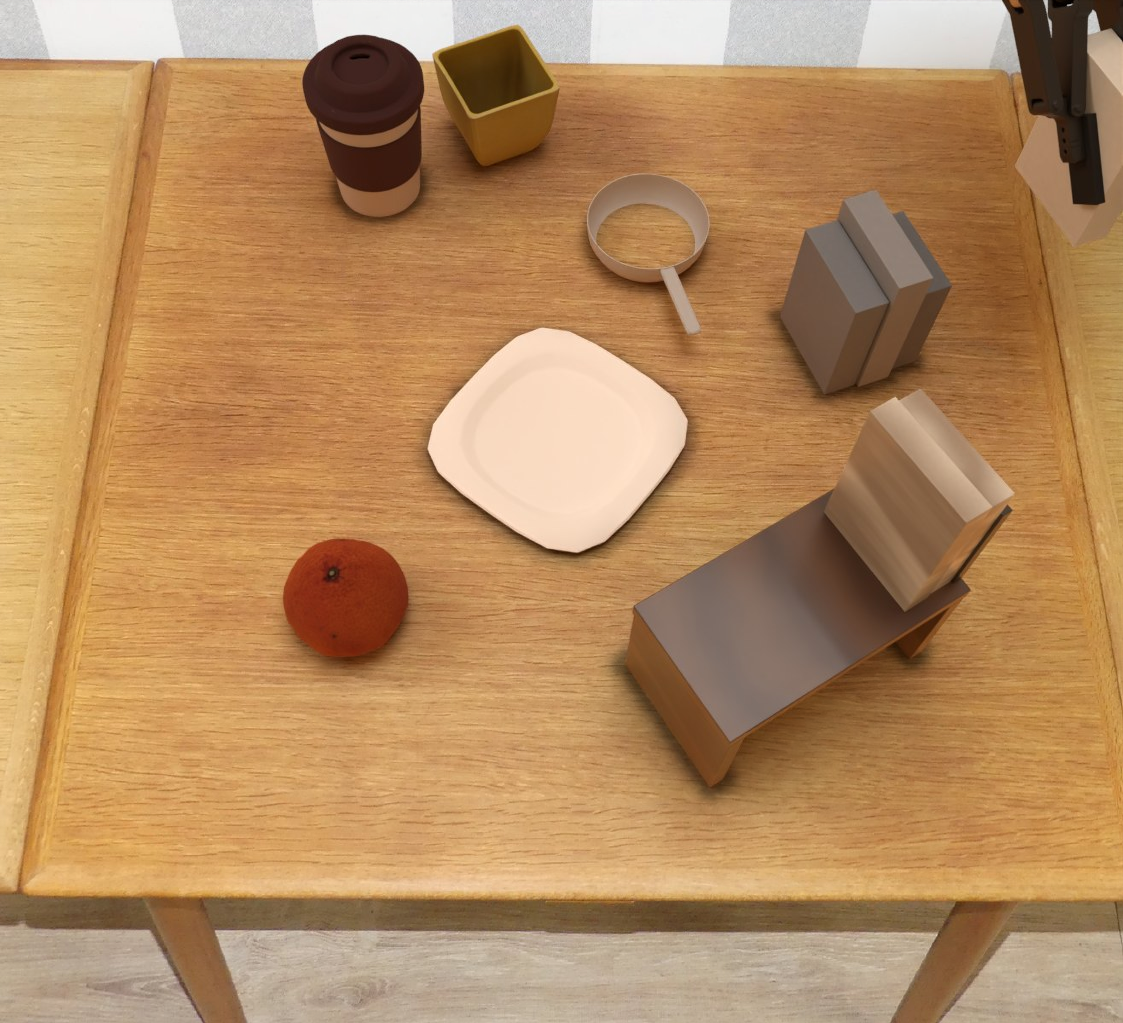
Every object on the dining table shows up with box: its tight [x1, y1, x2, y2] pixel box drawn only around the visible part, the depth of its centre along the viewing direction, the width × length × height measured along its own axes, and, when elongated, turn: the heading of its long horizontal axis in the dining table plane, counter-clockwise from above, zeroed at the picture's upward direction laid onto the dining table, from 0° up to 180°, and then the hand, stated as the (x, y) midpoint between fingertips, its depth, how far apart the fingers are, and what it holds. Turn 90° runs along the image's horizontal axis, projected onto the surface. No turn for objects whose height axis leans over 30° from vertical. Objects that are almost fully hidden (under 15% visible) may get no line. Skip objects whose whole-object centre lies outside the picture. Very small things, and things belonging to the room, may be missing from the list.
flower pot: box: [431, 24, 561, 167], centre depth 111 cm, size 9×9×9 cm
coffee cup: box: [301, 34, 425, 218], centre depth 106 cm, size 10×10×15 cm
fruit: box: [282, 537, 409, 658], centre depth 90 cm, size 9×9×8 cm
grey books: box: [779, 189, 953, 395], centre depth 99 cm, size 9×9×14 cm
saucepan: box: [586, 173, 711, 336], centre depth 107 cm, size 11×18×4 cm, turn 16°
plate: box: [426, 327, 689, 554], centre depth 100 cm, size 18×18×2 cm
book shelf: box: [624, 388, 1016, 788], centre depth 81 cm, size 20×11×25 cm, turn 122°
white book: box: [1014, 28, 1123, 248], centre depth 92 cm, size 9×3×13 cm, turn 21°
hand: (1110, 196), depth 92 cm, fingers closed on white book, 3 cm apart
